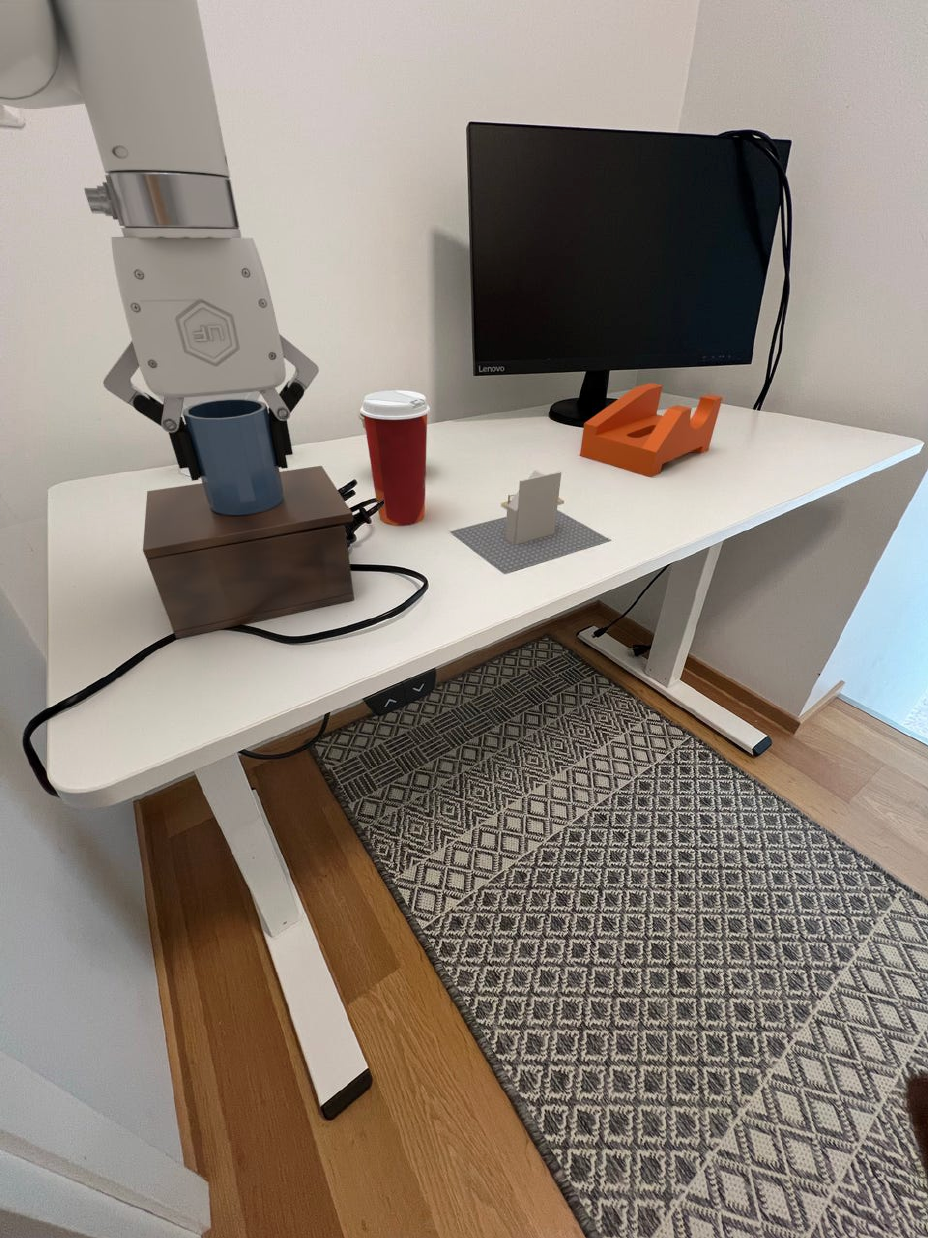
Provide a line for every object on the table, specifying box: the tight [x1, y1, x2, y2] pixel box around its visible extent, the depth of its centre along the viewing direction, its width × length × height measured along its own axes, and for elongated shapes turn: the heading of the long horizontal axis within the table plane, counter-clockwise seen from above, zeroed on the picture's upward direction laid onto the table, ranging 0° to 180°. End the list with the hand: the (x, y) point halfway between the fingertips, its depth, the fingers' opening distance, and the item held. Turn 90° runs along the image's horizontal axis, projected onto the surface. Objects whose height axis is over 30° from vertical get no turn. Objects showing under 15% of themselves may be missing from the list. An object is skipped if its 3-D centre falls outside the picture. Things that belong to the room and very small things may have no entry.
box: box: [146, 523, 355, 640], centre depth 52 cm, size 16×13×8 cm
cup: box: [182, 399, 284, 515], centre depth 47 cm, size 6×6×8 cm
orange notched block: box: [579, 382, 724, 478], centre depth 85 cm, size 18×13×8 cm
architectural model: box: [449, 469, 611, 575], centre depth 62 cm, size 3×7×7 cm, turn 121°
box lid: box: [142, 465, 354, 560], centre depth 49 cm, size 16×13×1 cm
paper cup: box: [359, 389, 431, 526], centre depth 63 cm, size 8×8×14 cm
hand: (239, 467), depth 47 cm, fingers closed on cup, 6 cm apart
